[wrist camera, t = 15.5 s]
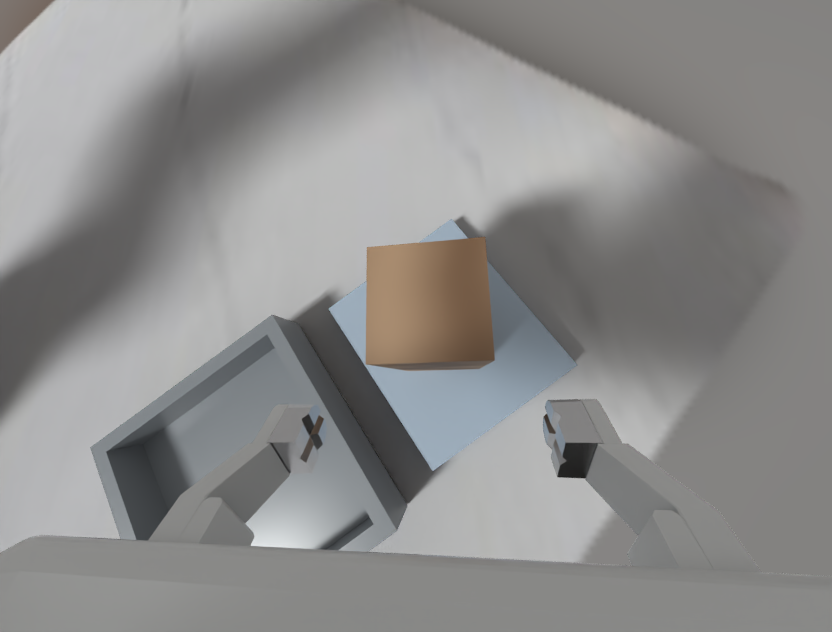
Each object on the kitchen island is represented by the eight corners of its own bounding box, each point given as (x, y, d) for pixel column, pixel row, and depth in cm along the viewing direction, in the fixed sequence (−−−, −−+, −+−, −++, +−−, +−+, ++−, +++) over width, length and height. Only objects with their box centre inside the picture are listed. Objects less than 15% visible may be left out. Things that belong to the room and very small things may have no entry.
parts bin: (141, 438, 25) (90, 447, 21) (298, 323, 25) (272, 314, 21) (220, 643, 21) (172, 695, 17) (407, 505, 21) (396, 530, 17)
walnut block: (408, 371, 21) (365, 364, 12) (407, 302, 23) (367, 244, 13) (479, 369, 21) (495, 360, 11) (474, 297, 22) (484, 233, 12)
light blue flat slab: (333, 311, 24) (328, 308, 23) (451, 225, 24) (451, 218, 23) (434, 466, 21) (432, 471, 20) (572, 365, 21) (577, 365, 20)
